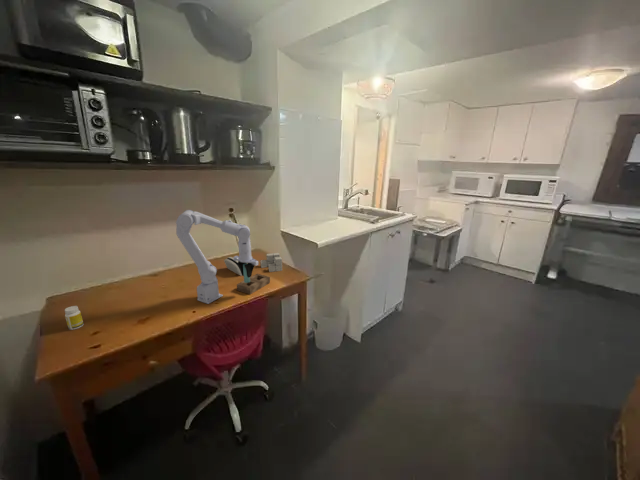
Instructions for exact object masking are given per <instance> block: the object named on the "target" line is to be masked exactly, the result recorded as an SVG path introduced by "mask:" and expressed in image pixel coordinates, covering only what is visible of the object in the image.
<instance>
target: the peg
mask: <svg viewBox="0 0 640 480" xmlns="http://www.w3.org/2000/svg"><path fill="white" fill-rule="evenodd" d="M244 265H246V264H243V273H244V276H243V281H244V282H245V283H248V282H250V277H249V278H248V277H247V271H246V268H245V266H244Z"/></svg>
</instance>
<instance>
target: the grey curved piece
mask: <svg viewBox="0 0 640 480" xmlns="http://www.w3.org/2000/svg"><path fill="white" fill-rule="evenodd" d="M223 262H224V263H225V266H226V269H228V270H230V272H231V271H232V272H233V273H234V274H237V275H238V276H240V277H243V276H242V274H241V271H240V269H239V267H238V266H237V263H238V261H237V260H236V261H234V258H233V257H232V256H229V257H226V258H225V259H224V260H223Z"/></svg>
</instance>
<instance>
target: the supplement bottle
mask: <svg viewBox="0 0 640 480" xmlns="http://www.w3.org/2000/svg"><path fill="white" fill-rule="evenodd" d="M64 313H65V315H64V318H65V320H66V321H65V322H66V324H67V327H68V330H71V331H72V330H73V331H74V330H77V329H81V328H82V327H83V326H84V325H85V324H84V321H83V317H82V312H81V310H79V307H78V305H72V306H69V307H66V308H65V309H64Z"/></svg>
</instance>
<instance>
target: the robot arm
mask: <svg viewBox="0 0 640 480" xmlns="http://www.w3.org/2000/svg"><path fill="white" fill-rule="evenodd" d="M200 224H204V225H209V226H211V227H215V228H219V229H220V230H221V232H222V233H225V234H228V235H232V236H236V237H237V238H238V242H237V243H238V254H239V255H235V256H233V257H232V258H234V261H236V260H237V261H238V263H237V266H238V267H239V269H240V271H241V274H242V276H241V277H244V273H243V264H246V265H244V266H245V268H246V271H247V277H248V278H249V277H252V276H253V271H254V267H255V266H259V260H257V259H255V258H253V256H252V246H251V244H252V243H251V230H250V227H249V226H248V225H246V224H241V223H239V224H238V223H235V222H233V221H232V220H231V219H228V220H227V219H226V220H223V221H222V220H221V219H217V218H214V217H212V216H209V215H207V214H204V213H202V212H199V211H194V210H192V209H185V210H184V211H183V212H182V213H180V214H179V215H178V217H177V219H176V221H175V225H176V226H175V227H176V233H175V234H176V236H177V238H178V239H179V242H180V243H181V244H182V246H183V247H184V249H185V250H186V252H187V253H188V255H189V256H190V258H191V259H192V260H193V262H194V264H195V265H196V267H197V272H198V274H199V276H200V281H201V282H200V284H198V285H197V286H196V293H197V298H196V300H197V301H199V302H201V303H204V304H208V305H209V304H211V303H212V302H215V301H216V300H219V299H220V298H222V297H223V296H224V295H223V294H221V293H220V292H219V291H220V290H219V282H218V281H219V280H218V278H217V276H216V275H217V274H218V273H217V271H218V269H217V267H216V266H214V265H213V264H212V263H211V261H209V260H208V259H207V257H205V255H204V253H203V252H202V250H201V249H200V247H199V245H198V243H197V242H196V241H195V240H196V239H194V237H193V236H192V234H191V233H190V232H191V228H192V227H193V225H195V226H196V225H200Z"/></svg>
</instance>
